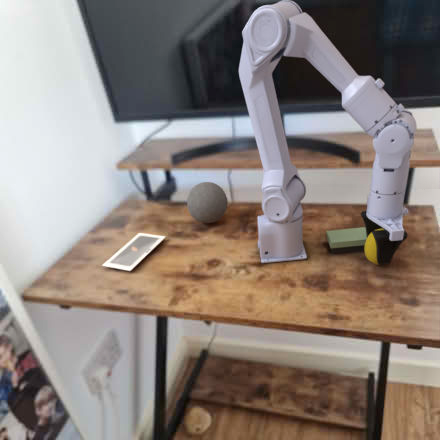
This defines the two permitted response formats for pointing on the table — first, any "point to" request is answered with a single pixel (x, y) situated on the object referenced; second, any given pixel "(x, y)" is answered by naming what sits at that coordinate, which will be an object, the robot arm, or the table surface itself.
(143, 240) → the touchpad
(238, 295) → the table surface
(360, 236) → the green block
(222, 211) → the decorative ball
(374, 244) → the lemon
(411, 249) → the table surface
